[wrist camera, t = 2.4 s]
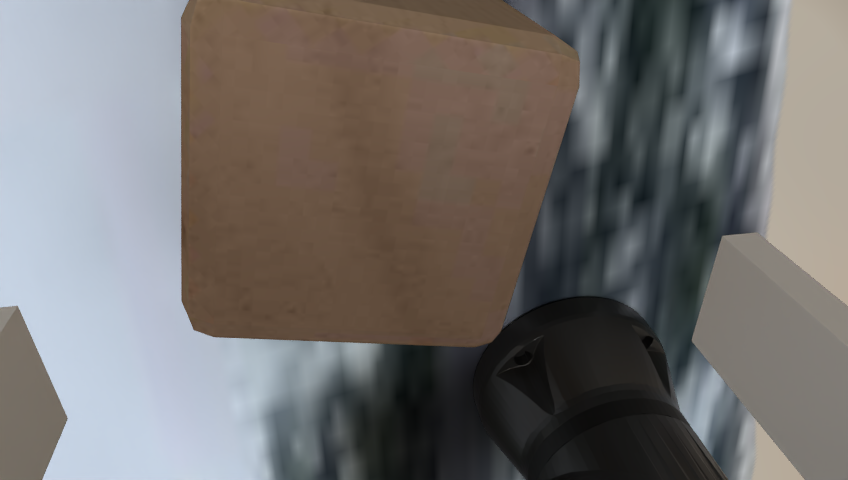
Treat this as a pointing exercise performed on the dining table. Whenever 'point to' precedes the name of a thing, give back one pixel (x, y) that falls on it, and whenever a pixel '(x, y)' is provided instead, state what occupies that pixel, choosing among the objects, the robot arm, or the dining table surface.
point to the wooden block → (364, 165)
